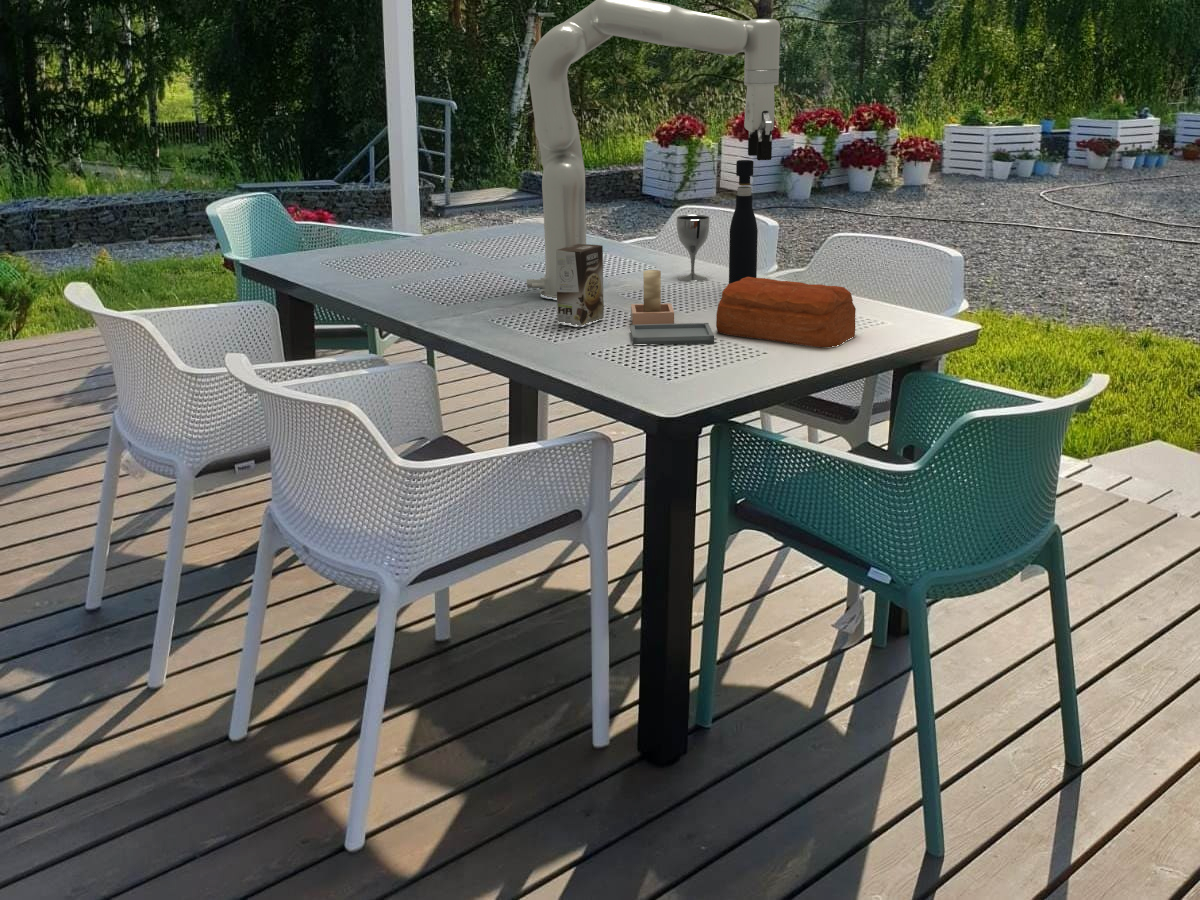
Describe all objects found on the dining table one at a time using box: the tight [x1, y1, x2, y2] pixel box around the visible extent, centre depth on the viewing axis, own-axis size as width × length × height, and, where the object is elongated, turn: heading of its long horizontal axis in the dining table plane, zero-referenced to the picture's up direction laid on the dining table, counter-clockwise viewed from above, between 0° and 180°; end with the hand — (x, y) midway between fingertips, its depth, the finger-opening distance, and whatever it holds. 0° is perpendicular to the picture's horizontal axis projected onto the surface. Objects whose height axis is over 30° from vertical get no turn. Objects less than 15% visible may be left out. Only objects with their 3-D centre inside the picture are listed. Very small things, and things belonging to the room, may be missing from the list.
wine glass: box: [676, 214, 710, 282], centre depth 302 cm, size 8×8×15 cm
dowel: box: [642, 269, 662, 312], centre depth 259 cm, size 4×4×11 cm
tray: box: [629, 322, 715, 346], centre depth 248 cm, size 16×11×2 cm
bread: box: [715, 277, 857, 348], centre depth 248 cm, size 16×27×11 cm, turn 56°
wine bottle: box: [728, 159, 759, 284], centre depth 283 cm, size 6×6×30 cm
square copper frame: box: [630, 302, 675, 325], centre depth 260 cm, size 9×9×3 cm
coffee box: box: [556, 243, 605, 325], centre depth 260 cm, size 9×6×16 cm
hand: (759, 157), depth 277 cm, fingers open, 9 cm apart
